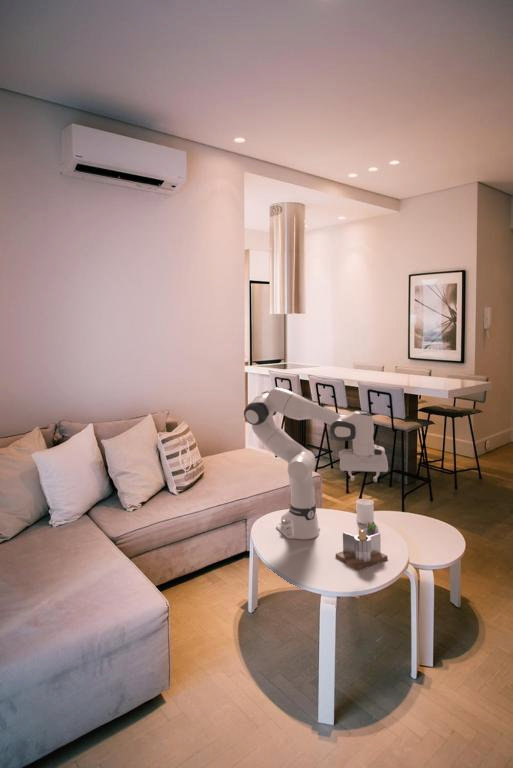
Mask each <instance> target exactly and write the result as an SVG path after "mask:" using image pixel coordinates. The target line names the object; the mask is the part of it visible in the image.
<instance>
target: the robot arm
mask: <svg viewBox="0 0 513 768" xmlns="http://www.w3.org/2000/svg"><path fill="white" fill-rule="evenodd" d="M277 413H279V414H280V415H283V416H285V417H287V418H289V419H293V420H297V421H302V420H317V421H320V422H322V423H324V424H327V425H330V427H329V432H330V436H331V437H332V438H333V439H334V440H336V441H337V442H347V441H352V448H342V449H340V450H339V451H338V459H339V469H340V470H341V472H347V473H348V475H349V477H350V481H351V482H355V475H352V472H372V473H373V472H376V473H375V474H376V475H375V476H373V482H374V483H375V482H376V483H377V482H378V478H379V476H380V473H381V472H382V473H386V472H388V471H389V464H388V458H387V457H388V456H387V455H386V449H385V447H384V446H381V445H377V444H375V441H374V434H375V425H374V418H373V415H372V414H371V413H370V412H368V411H364V410H355V411H353V412H352V413H350V414H349V413H338V412H336V411H334V410H331V409H329V408H326V407H324V406H321V405H319V404H317V403H315V402H313V401H311V400H309V399H307V398H305V397H303V396H301V395H299V394H297V393H295V392H293V391H292V390H288V389H285V388H280V387H277V386H276V387H273V388H271V389H270V390H266V391H263V392H262V393H261V394H259V395H258V396H255V398H254V399H253V400H252V401H250V403H248V404H247V405H246V407H245V409H244V411H243V417H244V419H245V420H246V422H247V423H248V424H250V425H251V429H252V432H253V433H254V434H255V436H256V437H257V438H258V439H259V441H261V443H262V444H264V446H266V448H267V449H268V450H269V451H271V452H272V453H273V454H274V455H275V457H279V458H280V459H282V460H283V461H284V462H287V463H288V465H287V475H288V480H289V486H290V495H291V496H290V499H291V500H290V503H288V507H289V509H288V510H287V511H286V512H285V513H283V514H282V515H281V518H280V522H279V523H278V524H276V527H275V528H276V529H277V530H278V531H280V533H281V534H283V536H284V537H286V538H287V539H289V540H294V539H296V540H311V539H315V538H317V537H318V536H319V535H320V532H319V531H320V530H321V527H320V526H319V523H318V522H319V521H318V514H317V507H316V506H317V505H316V502H315V501H316V500H315V497H316V495H315V485H314V481H313V470H314V468H315V466H316V457H315V455H314V453H313V452H312V451H311V450H309V449H307V448H306V447H304V446H303V445H302V444H300V443H299V442H297V441H296V440H294V439H293V438H292V437H291V436H290V435H289V434H288V433H287V432H286V431H284V429H282V427H281V426H279V425H278V424H277V423H276V422H275V420H274V417H273V416H276V415H277Z"/></svg>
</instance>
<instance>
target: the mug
mask: <svg viewBox="0 0 513 768" xmlns="http://www.w3.org/2000/svg"><path fill="white" fill-rule="evenodd" d="M374 503H375V502H374V501H373V500H372V499H369V498H360V499H357V500H356V505H355V510H356V521H357V523H358V524H360V523H361V524H360V525H366V524H367V523H372V524H374V519H375V518H374V517H375V515H374V511H375V510H374V505H375V504H374Z"/></svg>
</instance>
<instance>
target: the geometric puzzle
mask: <svg viewBox="0 0 513 768" xmlns="http://www.w3.org/2000/svg"><path fill="white" fill-rule="evenodd" d="M365 525H366V527H364V528H363V529H364V530H366V535H368V536H371V535H374V534H377V533H380V532H379V529H378V528H377V524H374V523H367V524H365Z"/></svg>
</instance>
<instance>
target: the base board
mask: <svg viewBox="0 0 513 768" xmlns="http://www.w3.org/2000/svg"><path fill="white" fill-rule="evenodd" d="M335 558H336V559H337V560H339V561H342V562H343V563H346V564H347V565H349V566H350V567H353V568H354V569H355V570H358V571H361V570H364V569H367V568H369V567H372V566H374V565H377V564H379V563H382V562H384V561H386V560H388V555H386V554H384V553H382V552H381V553H379V554H376V555H374V556H371V561H370V562H368V563H361V562H358V561H356V560H355V556H353V555H350V554H348V553H345V552H343V550H342V551H340V552H336V553H335Z"/></svg>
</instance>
